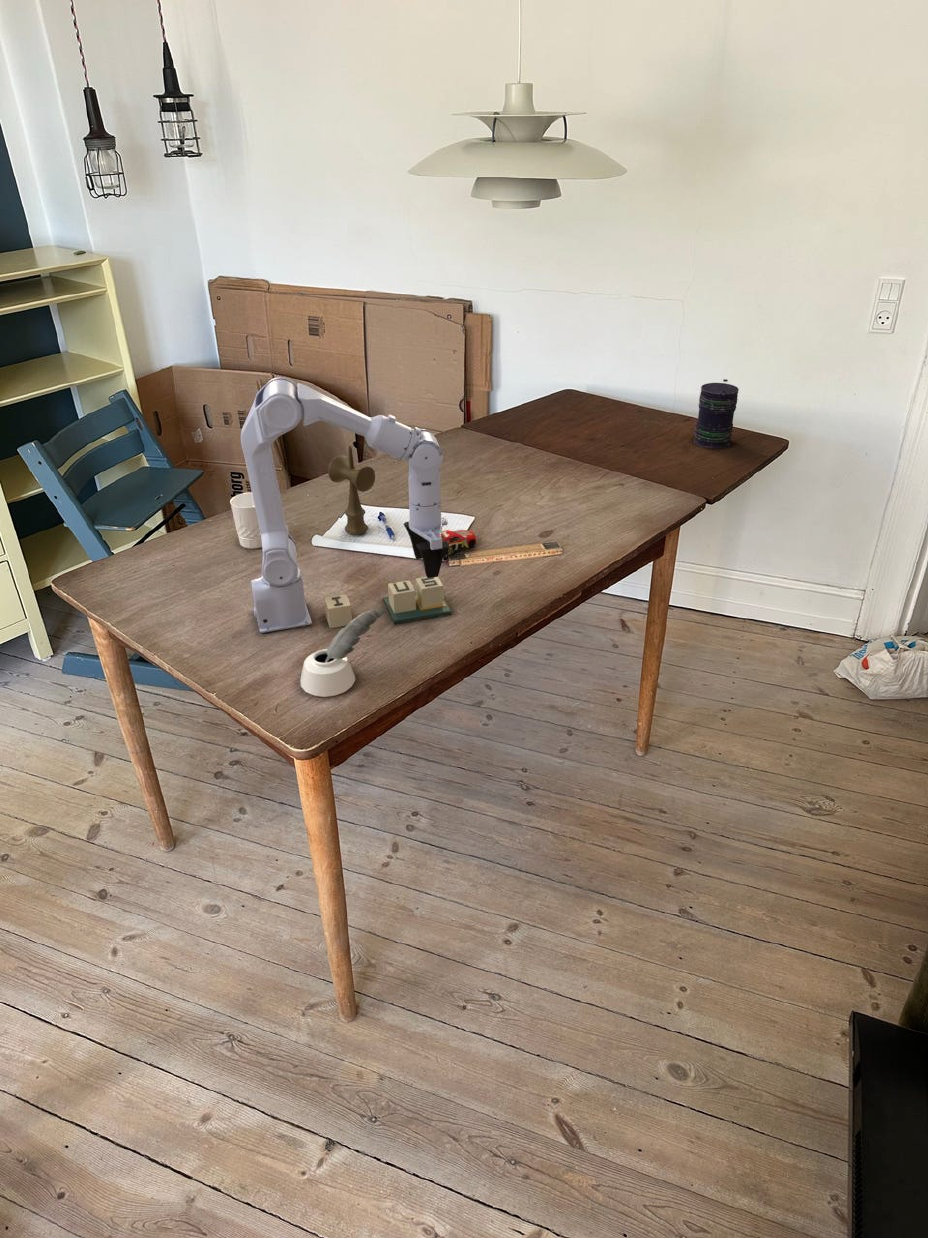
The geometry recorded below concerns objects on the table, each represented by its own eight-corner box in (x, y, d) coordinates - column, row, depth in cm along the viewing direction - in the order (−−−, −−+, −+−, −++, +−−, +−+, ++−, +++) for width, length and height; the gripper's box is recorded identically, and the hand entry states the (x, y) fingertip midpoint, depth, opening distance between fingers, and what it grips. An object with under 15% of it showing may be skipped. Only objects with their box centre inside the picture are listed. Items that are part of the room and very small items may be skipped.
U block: (394, 613, 165) (393, 593, 162) (389, 602, 168) (387, 582, 166) (416, 610, 166) (415, 590, 164) (410, 599, 169) (409, 579, 167)
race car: (466, 536, 194) (466, 519, 192) (481, 545, 190) (481, 528, 188) (416, 553, 187) (416, 536, 185) (431, 562, 183) (430, 545, 181)
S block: (422, 608, 166) (421, 588, 164) (416, 597, 170) (415, 577, 167) (443, 604, 167) (443, 584, 165) (437, 594, 171) (436, 574, 168)
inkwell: (289, 681, 148) (282, 631, 143) (371, 639, 159) (368, 591, 154) (322, 705, 142) (316, 653, 137) (405, 659, 153) (403, 610, 148)
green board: (394, 624, 163) (394, 620, 163) (383, 600, 170) (383, 596, 170) (451, 614, 166) (451, 610, 165) (437, 591, 173) (437, 587, 173)
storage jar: (688, 436, 246) (697, 371, 236) (722, 434, 246) (732, 370, 237) (700, 449, 237) (710, 383, 228) (736, 447, 238) (746, 381, 228)
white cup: (229, 546, 190) (222, 504, 185) (249, 531, 196) (243, 490, 191) (261, 552, 188) (255, 509, 183) (280, 536, 194) (275, 494, 189)
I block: (330, 628, 162) (327, 608, 160) (325, 617, 165) (323, 597, 163) (352, 624, 163) (350, 604, 161) (347, 613, 167) (346, 593, 164)
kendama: (352, 520, 201) (345, 436, 190) (381, 533, 195) (375, 447, 185) (332, 529, 197) (324, 443, 187) (360, 542, 192) (354, 455, 181)
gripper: (458, 513, 153) (458, 581, 160) (435, 482, 164) (436, 547, 172) (419, 518, 151) (421, 587, 158) (398, 486, 163) (401, 552, 170)
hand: (426, 567), depth 165 cm, fingers open, 7 cm apart
